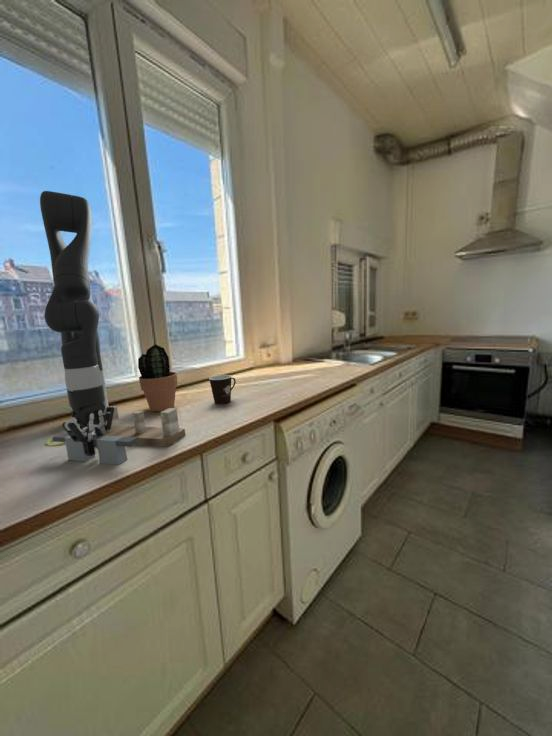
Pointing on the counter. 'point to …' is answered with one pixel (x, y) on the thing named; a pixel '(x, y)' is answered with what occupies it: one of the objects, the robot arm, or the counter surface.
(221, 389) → the coffee mug
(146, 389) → the potted plant
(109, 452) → the square weight dumbbell
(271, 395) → the counter surface
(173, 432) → the display stand
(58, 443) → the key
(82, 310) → the robot arm
